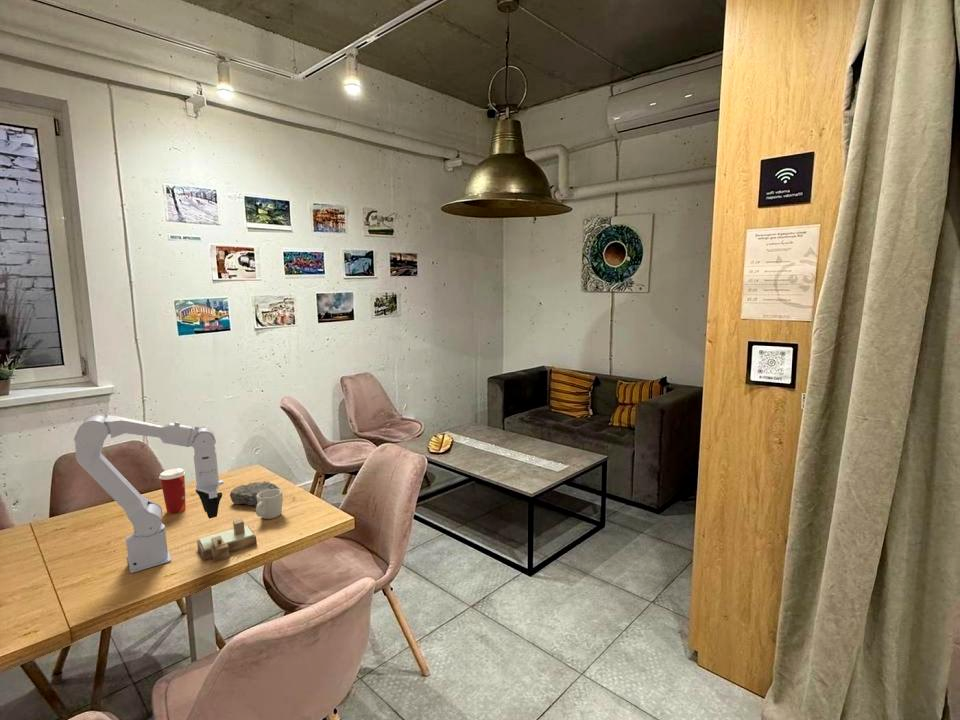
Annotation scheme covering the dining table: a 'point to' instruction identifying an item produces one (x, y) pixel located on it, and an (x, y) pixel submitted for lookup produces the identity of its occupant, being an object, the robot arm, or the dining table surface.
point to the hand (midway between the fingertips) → (210, 514)
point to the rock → (250, 492)
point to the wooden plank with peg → (218, 542)
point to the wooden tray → (226, 549)
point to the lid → (229, 535)
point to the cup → (269, 503)
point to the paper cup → (173, 490)
